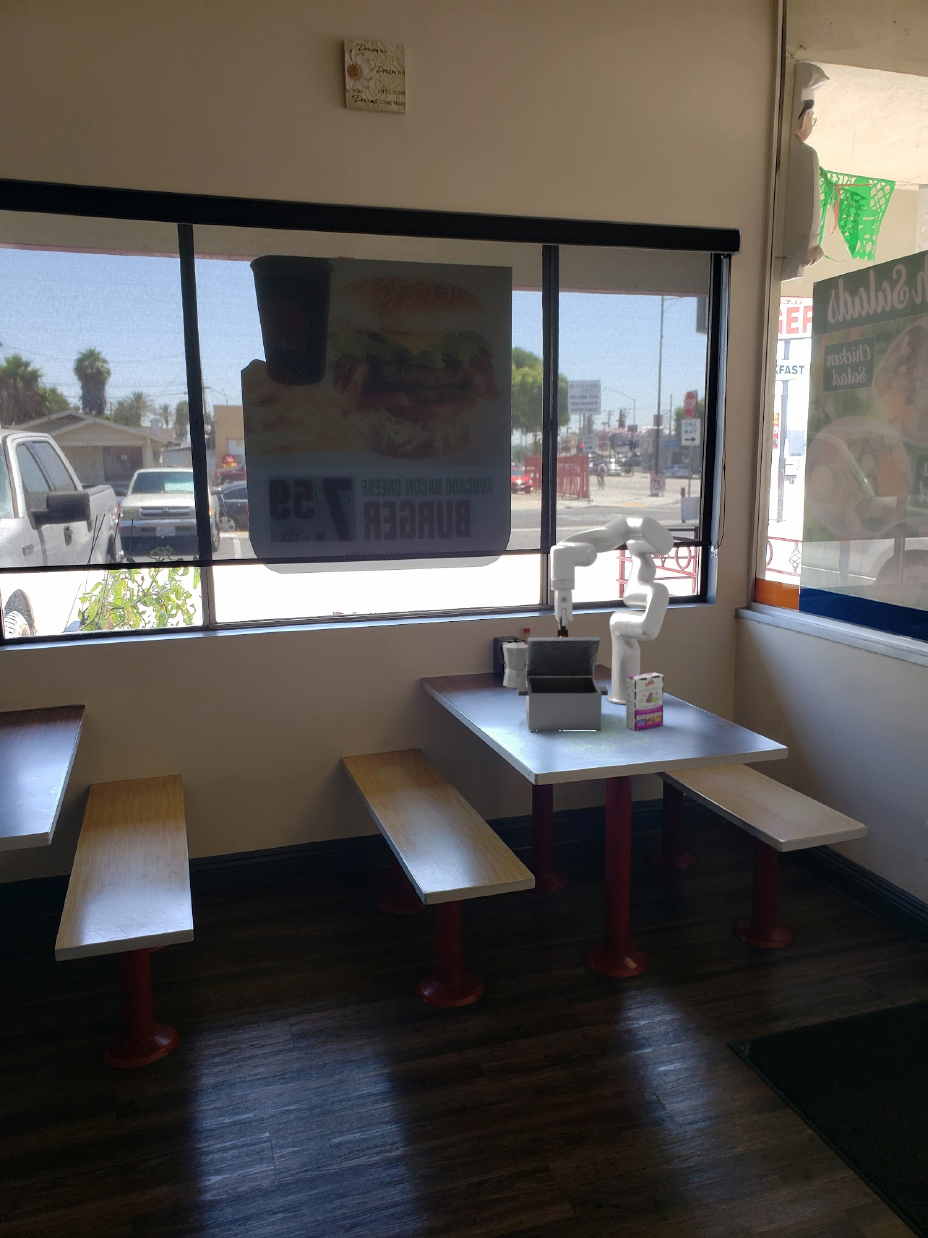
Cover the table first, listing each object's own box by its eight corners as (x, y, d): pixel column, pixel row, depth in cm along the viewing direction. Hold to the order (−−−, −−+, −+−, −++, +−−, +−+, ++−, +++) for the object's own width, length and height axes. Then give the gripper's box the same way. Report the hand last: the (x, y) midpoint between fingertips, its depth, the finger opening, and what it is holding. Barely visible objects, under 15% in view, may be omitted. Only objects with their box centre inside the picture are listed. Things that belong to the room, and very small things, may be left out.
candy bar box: (653, 722, 284) (654, 671, 282) (663, 726, 280) (664, 674, 277) (624, 727, 279) (625, 675, 277) (634, 731, 275) (635, 679, 272)
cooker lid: (593, 676, 295) (592, 668, 297) (599, 640, 277) (599, 631, 278) (525, 676, 295) (525, 668, 297) (528, 640, 277) (527, 632, 279)
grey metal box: (601, 712, 297) (602, 676, 295) (610, 731, 275) (611, 693, 273) (516, 712, 298) (516, 677, 296) (519, 731, 276) (519, 693, 274)
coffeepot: (537, 686, 333) (537, 638, 330) (520, 690, 326) (520, 641, 323) (506, 679, 344) (506, 633, 341) (489, 683, 337) (489, 636, 334)
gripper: (577, 587, 273) (576, 646, 277) (572, 581, 288) (572, 637, 291) (552, 588, 274) (552, 647, 277) (549, 581, 288) (549, 637, 292)
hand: (562, 641), depth 284 cm, fingers closed
